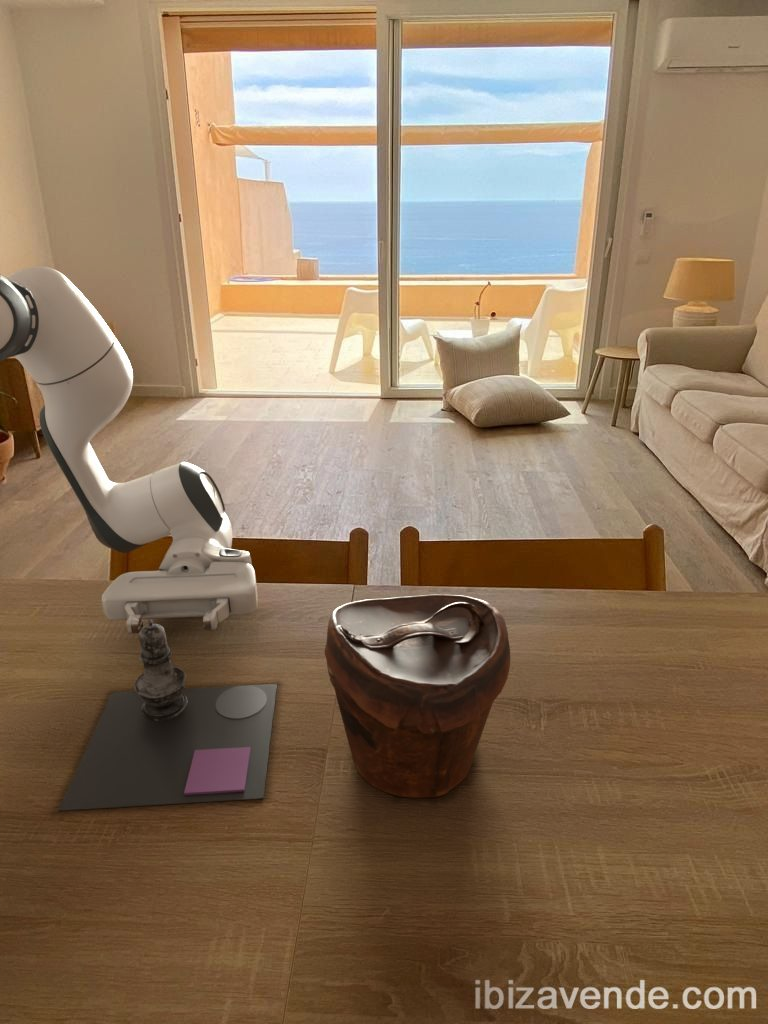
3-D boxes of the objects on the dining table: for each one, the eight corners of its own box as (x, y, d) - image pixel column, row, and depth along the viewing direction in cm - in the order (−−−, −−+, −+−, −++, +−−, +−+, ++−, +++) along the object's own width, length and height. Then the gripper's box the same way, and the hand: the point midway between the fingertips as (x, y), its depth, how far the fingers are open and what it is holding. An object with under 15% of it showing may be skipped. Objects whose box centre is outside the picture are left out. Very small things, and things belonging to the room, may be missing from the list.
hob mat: (58, 811, 68) (58, 810, 68) (112, 693, 85) (111, 692, 85) (263, 798, 69) (263, 797, 69) (277, 684, 86) (276, 683, 86)
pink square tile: (184, 795, 70) (183, 793, 70) (195, 752, 75) (194, 750, 75) (244, 791, 70) (244, 789, 70) (250, 748, 76) (250, 746, 75)
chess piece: (128, 718, 80) (110, 631, 75) (155, 686, 85) (140, 603, 81) (174, 726, 79) (159, 637, 74) (199, 693, 84) (186, 609, 79)
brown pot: (532, 731, 78) (545, 593, 70) (443, 860, 63) (448, 701, 55) (398, 676, 87) (398, 549, 80) (293, 777, 72) (280, 631, 64)
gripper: (114, 556, 98) (81, 608, 85) (260, 551, 99) (249, 601, 86) (121, 595, 100) (91, 651, 88) (263, 589, 102) (254, 644, 89)
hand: (171, 626), depth 87 cm, fingers open, 8 cm apart
